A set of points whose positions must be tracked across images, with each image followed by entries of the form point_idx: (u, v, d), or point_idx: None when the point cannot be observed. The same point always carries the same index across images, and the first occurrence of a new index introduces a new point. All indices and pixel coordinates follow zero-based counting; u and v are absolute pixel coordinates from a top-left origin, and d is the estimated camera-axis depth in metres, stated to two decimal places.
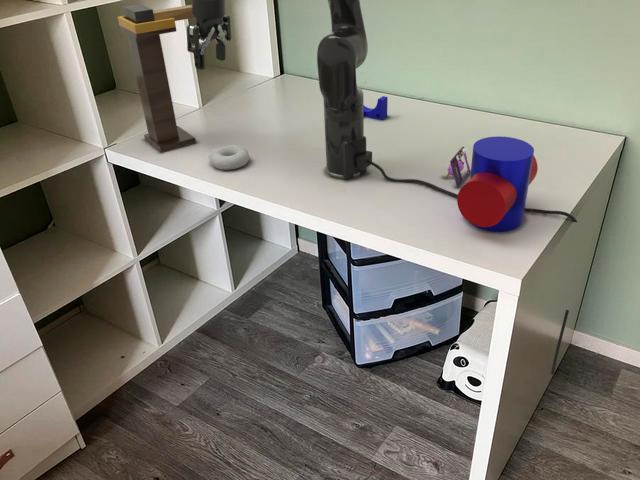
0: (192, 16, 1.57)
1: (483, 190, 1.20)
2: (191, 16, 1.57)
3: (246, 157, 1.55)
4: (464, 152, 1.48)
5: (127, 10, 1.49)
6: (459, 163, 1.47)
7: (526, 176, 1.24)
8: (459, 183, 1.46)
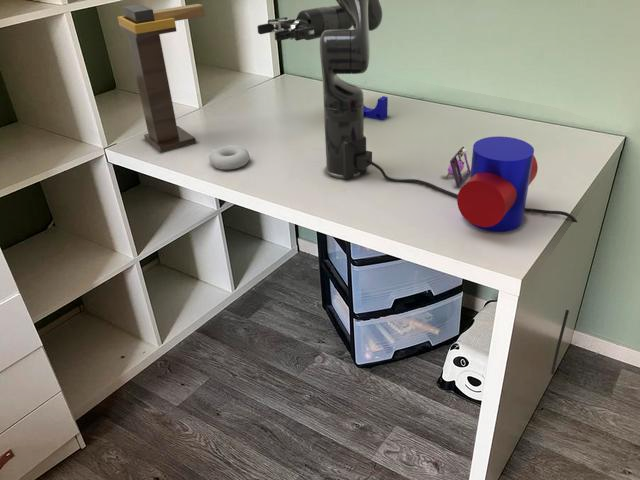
0: (192, 16, 1.57)
1: (484, 190, 1.20)
2: (191, 16, 1.57)
3: (246, 157, 1.55)
4: (464, 152, 1.48)
5: (127, 10, 1.49)
6: (459, 163, 1.47)
7: (526, 176, 1.24)
8: (459, 183, 1.46)
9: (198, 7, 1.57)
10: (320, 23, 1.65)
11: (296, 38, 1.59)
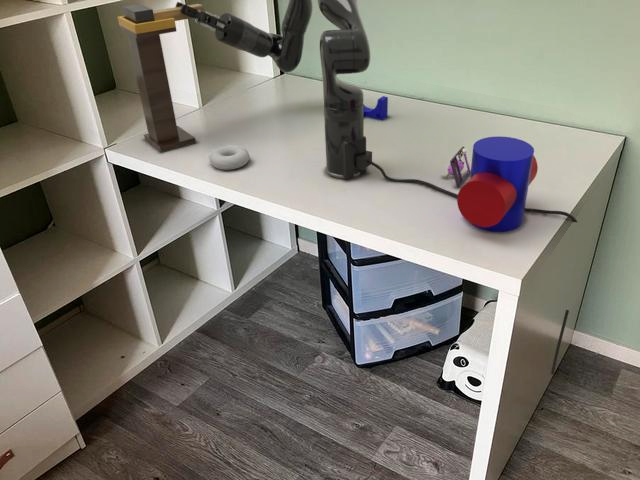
0: None
1: (484, 190, 1.20)
2: None
3: (246, 157, 1.55)
4: (464, 152, 1.48)
5: (127, 10, 1.49)
6: (459, 163, 1.47)
7: (526, 176, 1.24)
8: (459, 183, 1.46)
9: (198, 7, 1.57)
10: (239, 30, 1.64)
11: (200, 19, 1.56)
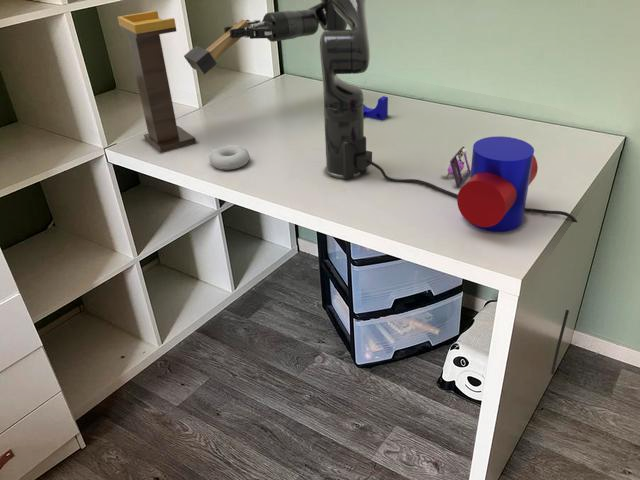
0: None
1: (484, 190, 1.20)
2: None
3: (246, 157, 1.55)
4: (464, 152, 1.48)
5: (189, 59, 1.64)
6: (459, 163, 1.47)
7: (526, 176, 1.24)
8: (459, 183, 1.46)
9: (243, 24, 1.66)
10: (284, 25, 1.71)
11: (250, 36, 1.66)
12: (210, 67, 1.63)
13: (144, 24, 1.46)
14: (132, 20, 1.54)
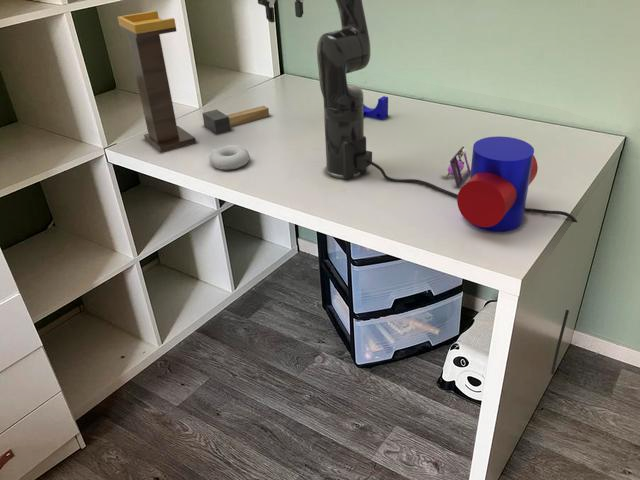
0: (259, 117, 1.82)
1: (484, 190, 1.20)
2: (258, 117, 1.82)
3: (246, 157, 1.55)
4: (464, 152, 1.48)
5: (207, 117, 1.74)
6: (459, 163, 1.47)
7: (526, 176, 1.24)
8: (459, 183, 1.46)
9: (264, 109, 1.82)
10: None
11: None
12: (224, 130, 1.74)
13: (144, 24, 1.46)
14: (132, 20, 1.54)
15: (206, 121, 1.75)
